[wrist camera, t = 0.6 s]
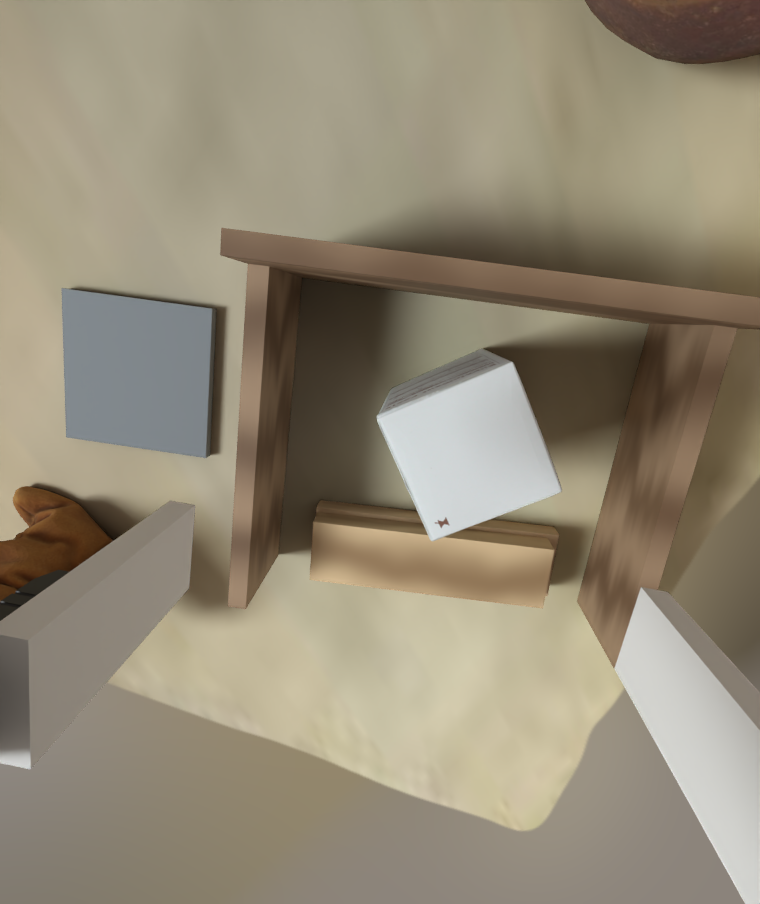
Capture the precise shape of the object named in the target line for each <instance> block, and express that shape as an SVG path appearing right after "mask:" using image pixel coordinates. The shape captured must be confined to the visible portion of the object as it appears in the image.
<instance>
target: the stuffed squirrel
mask: <svg viewBox="0 0 760 904" xmlns="http://www.w3.org/2000/svg"><path fill="white" fill-rule="evenodd" d="M13 503H14V506H15V508H16V510H17V511H18V513H19V514H20V516H21V517H22V518H23V519H24V521H25V522H26V523H27V524H28V525H29V528H27V529H26V530H25V531H24V532H22V533H19V534H17V535H16V537H15V538H14V539H13V540H8V541H0V601H1V600H3V599H4V598H6V597H7V596H9V595H10V594H12V593H13V594H15V592H16V590H18V589H19V588H21V587H22V586H24V585H25V584H27V583H28V582H30V581H31V580H33V579H35V578H37V577H40V576H43V575H46V574H48V573H51V572H54V571H56V570H63V571H68V572H70V571H72V570H73V569H74V568H76V567H77V566H79V565H80V564H81V563H83V562H84V561H86V560H87V559H89V558H90V557H91V556H93V555H94V554H96V553H97V552H98V551H100V550H101V549H103V548H104V547H105V546H107V545H108V544H110V543H111V542H113V540H112V539H111V538H110V537H108V536H107V535H106V534H105V532H104V531H103V530H102V529H101V528H100V527H99V526H98V525H97V523H96V522H95V521H94V520H93V519H92V518H91V517H90V516H89V515H88V514H87V513H86V511H85V510H84V509H83V508H82V507H81V506H80V505H79V504H78V503H76V502H74V501H72V500H70V499H68V498H65V497H63V496H60V495H58V494H56V493H53V492H49V491H47V490H43V489H39V488H33V487H28V486H25V487H21V488H19V489H18V490H16V492H15V495H14V497H13Z"/></svg>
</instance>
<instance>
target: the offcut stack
mask: <svg viewBox="0 0 760 904" xmlns="http://www.w3.org/2000/svg"><path fill="white" fill-rule="evenodd" d="M558 540H559V534H558V533H557V531H556V529H555V528H554V527H553V526H544V525H535V524H527V523H518V522H509V521H500V520H492V519H489V520H487V521H484V522H481V523H478V524H476V525H473V526H471V527H468V528H466V529H463V530H460V531H458V532H455V533H453V534H450V535H448V536H445V537H443V538H440V539H438V540H435V541H431V540H430V538H429V536H428V534H427V531H426V529H425V527H424V525H423V522H422V520H421V518H420V516H419V513H418V511H413V510H404V509H395V508H386V507H378V506H369V505H360V504H351V503H343V502H334V501H325V500H320V502H319V503H318V505H317V507H316V518H315V519H314V521H313V533H312V550H311V566H310V580H316V581H324V582H332V583H340V584H348V585H357V586H365V587H373V588H381V589H389V590H397V591H405V592H414V593H422V594H430V595H438V596H446V597H454V598H463V599H471V600H479V601H487V602H495V603H503V604H512V605H520V606H528V607H536V608H543V605H544V600H545V596H547V595H548V590H549V585H550V580H551V575H552V570H553V565H554V560H555V555H556V550H557V545H558Z"/></svg>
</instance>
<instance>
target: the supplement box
mask: <svg viewBox="0 0 760 904" xmlns="http://www.w3.org/2000/svg"><path fill="white" fill-rule="evenodd" d="M377 422H378V424H379V427H380V429H381V431H382V433H383V436H384V438H385V440H386V442H387V444H388V447H389V449H390V451H391V453H392V456H393V458H394V460H395V462H396V464H397V467H398V469H399V471H400V473H401V476H402V478H403V481H404V483H405V486H406V488H407V490H408V491H409V493H410V495H411V498H412V500H413V502H414V504H415V507H416V509H417V511H418V513H419V516H420V518H421V520H422V522H423V525H424V527H425V529H426V531H427V534H428V536H429V538H430V540H431V541H435V540H438V539H440V538H443V537H445V536H448V535H450V534H453V533H455V532H458V531H460V530H463V529H466V528H468V527H471V526H473V525H476V524H478V523H481V522H484V521H487V520H489V519H492V518H495V517H497V516H500V515H503V514H505V513H508V512H511V511H513V510H516V509H519V508H521V507H524V506H527V505H529V504H532V503H535V502H537V501H540V500H543V499H545V498H548V497H551V496H553V495H556V494H558V493H560V492H561V491H562V488H561V485H560V482H559V479H558V476H557V473H556V470H555V468H554V465H553V462H552V460H551V457H550V454H549V452H548V449H547V446H546V444H545V441H544V438H543V435H542V433H541V430H540V428H539V425H538V423H537V420H536V418H535V415H534V412H533V410H532V407H531V405H530V402H529V400H528V397H527V394H526V392H525V389H524V387H523V384H522V382H521V379H520V377H519V374H518V372H517V369H516V367H515V365H514V363H513V362H512V361H509V360H507V359H505V358H503V357H501V356H499V355H496V354H494V353H491V352H489V351H487V350H485V349H479V350H477V351H475V352H473V353H471V354H468V355H466V356H464V357H461V358H459V359H457V360H454V361H452V362H450V363H447V364H445V365H443V366H441V367H438V368H436V369H434V370H431V371H429V372H427V373H425V374H422V375H420V376H418V377H415V378H413V379H411V380H409V381H406V382H404V383H402V384H400V385H397V386H395V387H393V388H392V389H391V390H390V392H389V394H388V396H387V398H386V400H385V402H384V404H383V406H382V408H381V410H380V412H379V414H378V415H377Z"/></svg>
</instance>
